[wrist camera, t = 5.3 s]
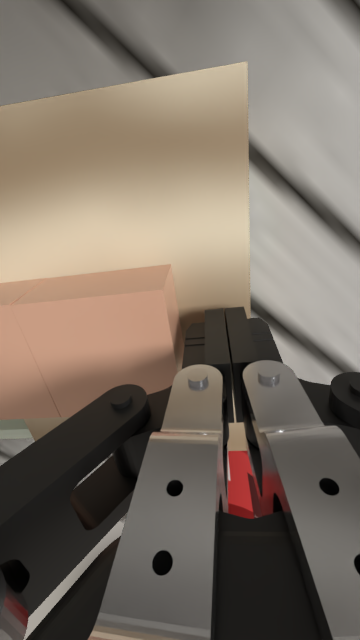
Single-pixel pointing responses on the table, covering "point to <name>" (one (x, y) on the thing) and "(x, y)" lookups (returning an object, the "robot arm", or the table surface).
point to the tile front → (103, 333)
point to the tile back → (20, 363)
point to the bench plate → (133, 190)
